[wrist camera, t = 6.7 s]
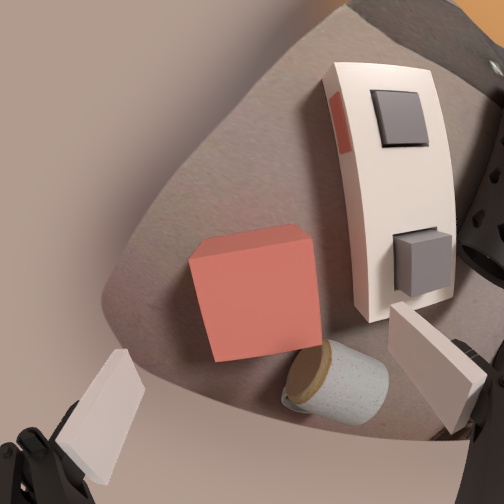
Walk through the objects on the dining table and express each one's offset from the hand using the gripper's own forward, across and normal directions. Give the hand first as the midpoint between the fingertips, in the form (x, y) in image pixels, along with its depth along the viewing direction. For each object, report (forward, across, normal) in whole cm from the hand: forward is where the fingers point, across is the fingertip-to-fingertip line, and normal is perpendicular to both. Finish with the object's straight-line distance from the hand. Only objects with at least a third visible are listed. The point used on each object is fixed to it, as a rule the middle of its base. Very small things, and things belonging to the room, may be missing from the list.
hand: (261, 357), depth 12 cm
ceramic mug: (+13, -6, +13) cm, 19 cm away
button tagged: (+13, -14, -12) cm, 22 cm away
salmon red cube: (+13, 0, 0) cm, 13 cm away
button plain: (+11, -14, 0) cm, 18 cm away
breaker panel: (+13, -14, -6) cm, 20 cm away
